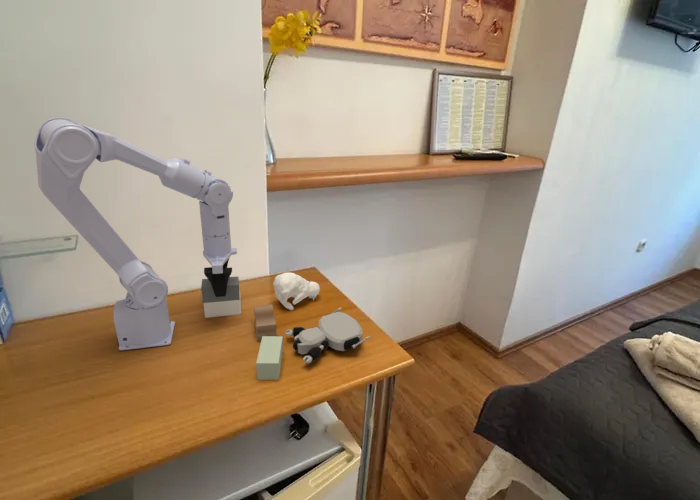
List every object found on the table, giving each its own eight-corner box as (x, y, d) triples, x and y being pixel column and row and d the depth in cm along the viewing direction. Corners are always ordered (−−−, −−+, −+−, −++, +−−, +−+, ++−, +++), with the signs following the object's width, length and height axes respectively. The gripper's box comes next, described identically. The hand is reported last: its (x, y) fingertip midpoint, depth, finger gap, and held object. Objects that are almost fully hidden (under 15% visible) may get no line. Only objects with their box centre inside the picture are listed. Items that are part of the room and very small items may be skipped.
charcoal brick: (202, 303, 87) (201, 287, 85) (203, 294, 90) (202, 279, 89) (239, 299, 89) (238, 284, 87) (239, 291, 92) (238, 276, 91)
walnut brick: (276, 340, 83) (276, 324, 81) (257, 342, 82) (256, 326, 80) (272, 319, 90) (272, 304, 88) (254, 321, 89) (254, 306, 87)
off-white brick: (205, 318, 88) (203, 303, 87) (206, 308, 92) (204, 294, 90) (241, 314, 91) (240, 299, 89) (240, 305, 94) (240, 291, 92)
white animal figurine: (271, 270, 93) (315, 264, 100) (269, 301, 96) (311, 293, 103) (282, 281, 88) (327, 274, 95) (279, 313, 91) (323, 305, 98)
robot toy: (306, 377, 74) (371, 350, 81) (305, 358, 72) (372, 333, 79) (283, 341, 84) (343, 320, 90) (281, 324, 82) (343, 304, 89)
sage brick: (278, 380, 72) (278, 363, 70) (257, 380, 72) (256, 363, 70) (282, 352, 79) (282, 336, 78) (263, 352, 79) (262, 336, 77)
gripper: (236, 244, 78) (240, 302, 83) (234, 220, 90) (238, 271, 96) (198, 246, 76) (205, 305, 81) (202, 221, 88) (208, 273, 94)
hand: (220, 287), depth 88 cm, fingers open, 7 cm apart
